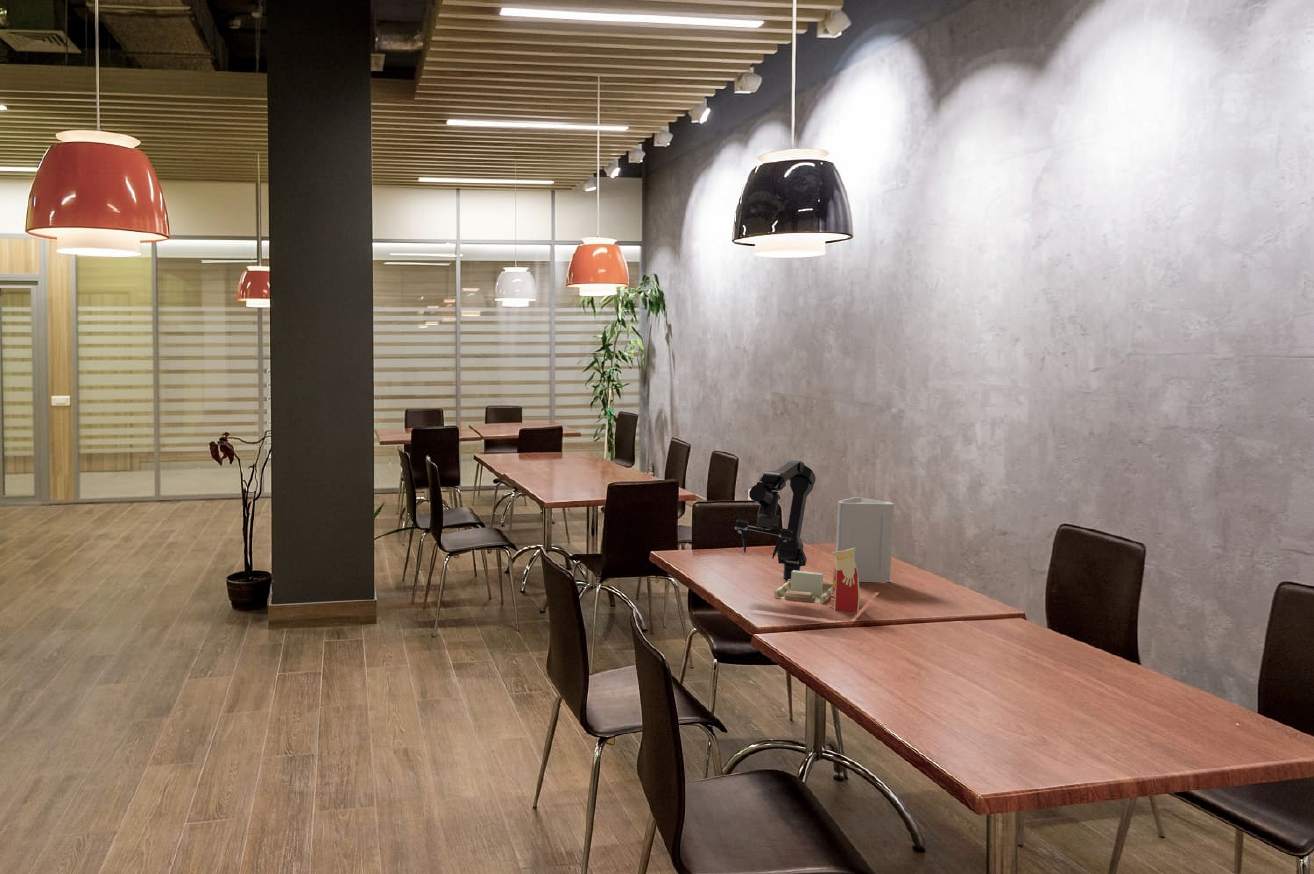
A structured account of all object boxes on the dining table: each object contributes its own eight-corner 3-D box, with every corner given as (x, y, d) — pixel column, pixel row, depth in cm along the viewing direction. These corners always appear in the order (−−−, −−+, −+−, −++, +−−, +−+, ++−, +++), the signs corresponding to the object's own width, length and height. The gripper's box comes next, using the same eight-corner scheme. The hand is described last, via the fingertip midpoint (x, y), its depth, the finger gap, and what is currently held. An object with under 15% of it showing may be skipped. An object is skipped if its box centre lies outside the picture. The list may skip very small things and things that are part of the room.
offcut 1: (786, 593, 343) (787, 590, 343) (811, 595, 341) (811, 592, 341) (785, 595, 340) (785, 592, 339) (810, 598, 337) (810, 595, 337)
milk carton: (857, 607, 335) (860, 545, 334) (859, 615, 326) (862, 550, 324) (828, 606, 336) (830, 543, 335) (829, 613, 327) (832, 549, 325)
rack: (788, 589, 358) (788, 578, 358) (835, 594, 352) (835, 584, 352) (774, 600, 341) (774, 589, 341) (823, 606, 336) (823, 595, 335)
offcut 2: (787, 596, 344) (788, 592, 344) (815, 599, 341) (815, 596, 340) (784, 598, 340) (784, 595, 340) (812, 601, 337) (812, 598, 337)
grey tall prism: (879, 574, 387) (883, 498, 385) (890, 583, 373) (894, 504, 370) (827, 573, 386) (831, 496, 384) (837, 582, 371) (840, 503, 369)
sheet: (792, 590, 351) (793, 570, 351) (822, 594, 348) (823, 573, 347) (790, 592, 349) (791, 571, 348) (820, 596, 345) (821, 574, 345)
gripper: (739, 499, 341) (730, 546, 338) (797, 510, 339) (788, 558, 336) (739, 505, 352) (730, 551, 349) (795, 516, 350) (786, 562, 347)
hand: (758, 555), depth 345 cm, fingers open, 9 cm apart
